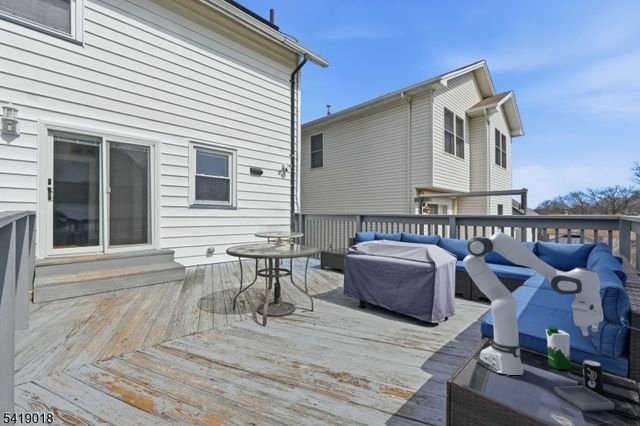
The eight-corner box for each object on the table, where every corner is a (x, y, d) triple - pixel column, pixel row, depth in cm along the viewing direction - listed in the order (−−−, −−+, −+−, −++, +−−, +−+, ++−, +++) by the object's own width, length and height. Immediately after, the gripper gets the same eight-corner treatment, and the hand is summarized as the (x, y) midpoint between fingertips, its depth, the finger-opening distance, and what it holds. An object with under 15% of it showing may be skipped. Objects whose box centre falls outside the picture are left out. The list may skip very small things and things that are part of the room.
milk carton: (545, 362, 164) (543, 325, 165) (563, 362, 163) (561, 325, 164) (555, 369, 156) (553, 330, 157) (574, 370, 154) (572, 331, 155)
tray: (583, 411, 121) (582, 404, 121) (554, 392, 134) (554, 386, 134) (614, 409, 122) (614, 403, 122) (583, 391, 135) (583, 385, 135)
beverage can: (607, 394, 133) (605, 366, 133) (590, 392, 134) (588, 365, 135) (596, 386, 139) (595, 360, 140) (580, 385, 140) (579, 359, 141)
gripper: (590, 299, 146) (591, 327, 146) (569, 304, 137) (571, 335, 136) (606, 301, 141) (608, 331, 140) (586, 307, 131) (588, 339, 130)
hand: (590, 333), depth 138 cm, fingers open, 8 cm apart
